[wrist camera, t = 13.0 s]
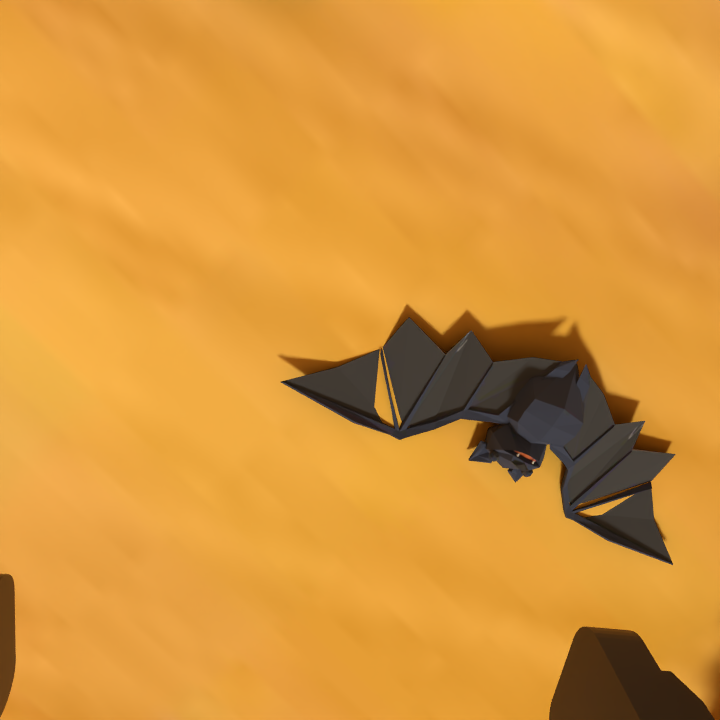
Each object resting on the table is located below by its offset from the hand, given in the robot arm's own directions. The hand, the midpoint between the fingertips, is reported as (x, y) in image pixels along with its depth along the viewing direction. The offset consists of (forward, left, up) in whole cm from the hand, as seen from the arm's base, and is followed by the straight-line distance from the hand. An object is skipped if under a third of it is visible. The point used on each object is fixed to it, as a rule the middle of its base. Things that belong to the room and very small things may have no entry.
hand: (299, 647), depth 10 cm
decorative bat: (-15, +9, -31) cm, 35 cm away
